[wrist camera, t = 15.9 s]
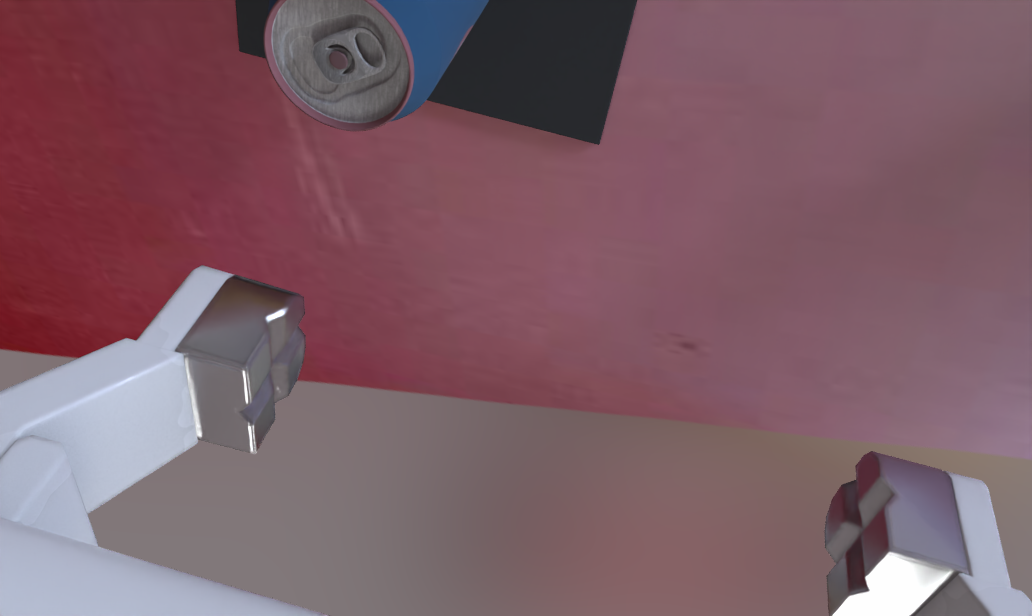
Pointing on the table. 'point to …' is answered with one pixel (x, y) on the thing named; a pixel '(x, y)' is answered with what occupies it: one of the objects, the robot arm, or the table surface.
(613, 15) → the mat
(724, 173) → the table surface
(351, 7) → the soda can
